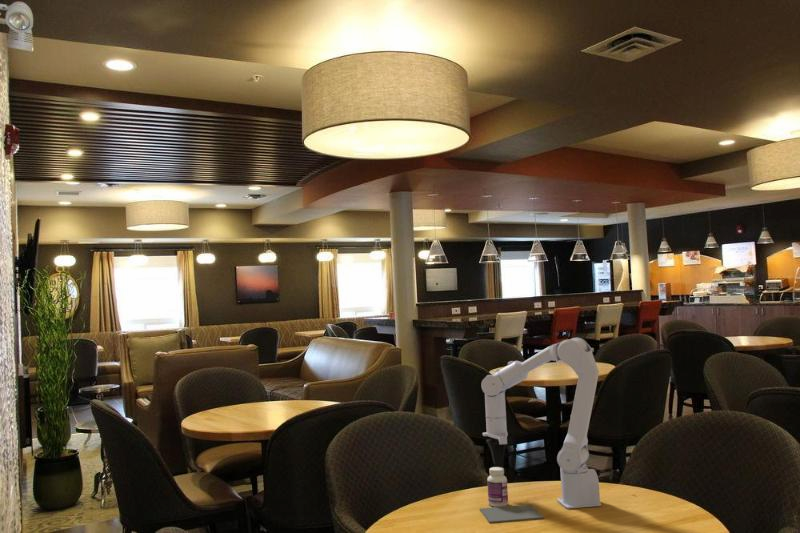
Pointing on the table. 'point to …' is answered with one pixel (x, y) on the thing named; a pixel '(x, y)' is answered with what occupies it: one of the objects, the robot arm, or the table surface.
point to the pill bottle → (497, 487)
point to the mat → (511, 513)
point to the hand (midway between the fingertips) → (498, 465)
